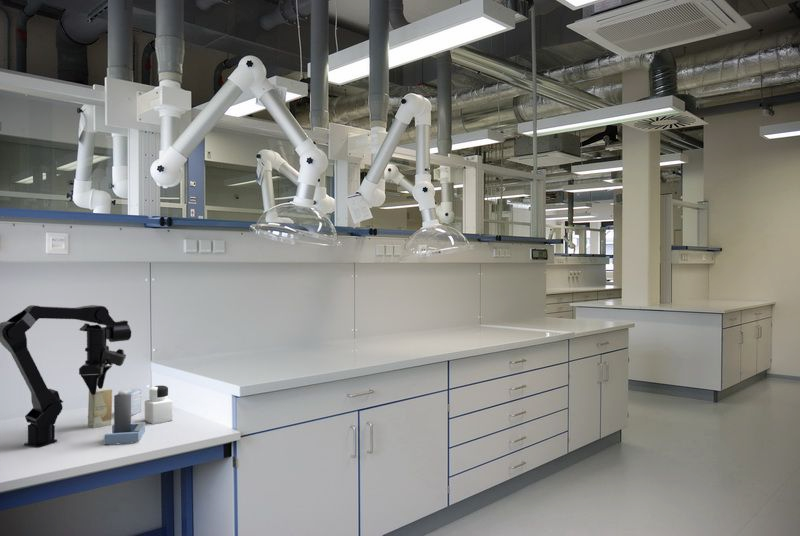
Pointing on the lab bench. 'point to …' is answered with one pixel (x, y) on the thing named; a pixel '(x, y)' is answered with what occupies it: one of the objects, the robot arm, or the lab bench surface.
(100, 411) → the skincare box
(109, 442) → the socket cradle
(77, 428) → the lab bench surface
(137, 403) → the medicine box
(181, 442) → the lab bench surface
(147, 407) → the medicine bottle
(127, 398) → the grey cylindrical bottle
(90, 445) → the lab bench surface
